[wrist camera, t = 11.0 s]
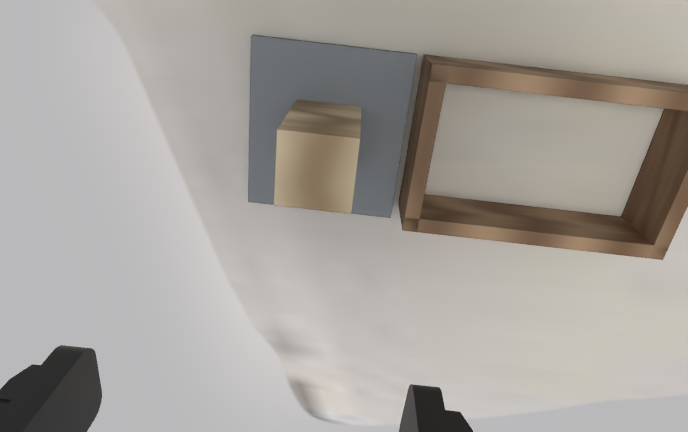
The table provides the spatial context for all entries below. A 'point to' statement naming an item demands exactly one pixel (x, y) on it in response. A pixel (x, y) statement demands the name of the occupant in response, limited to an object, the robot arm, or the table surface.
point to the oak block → (317, 156)
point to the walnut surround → (541, 223)
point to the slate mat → (331, 87)
